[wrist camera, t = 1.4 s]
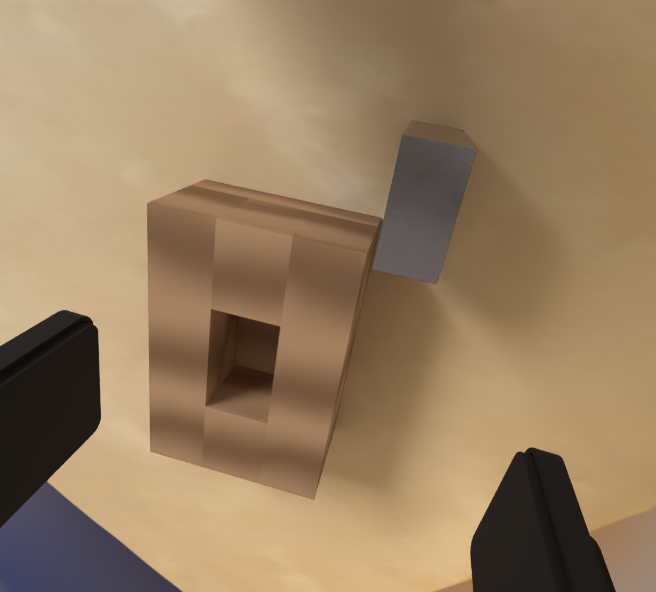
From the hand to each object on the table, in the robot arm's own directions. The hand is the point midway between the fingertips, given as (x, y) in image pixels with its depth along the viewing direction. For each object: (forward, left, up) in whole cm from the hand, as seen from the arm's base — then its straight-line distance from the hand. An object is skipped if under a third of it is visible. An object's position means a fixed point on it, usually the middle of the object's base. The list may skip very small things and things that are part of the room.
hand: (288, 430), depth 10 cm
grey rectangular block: (-2, +2, -21) cm, 22 cm away
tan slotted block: (+10, -6, -21) cm, 24 cm away
